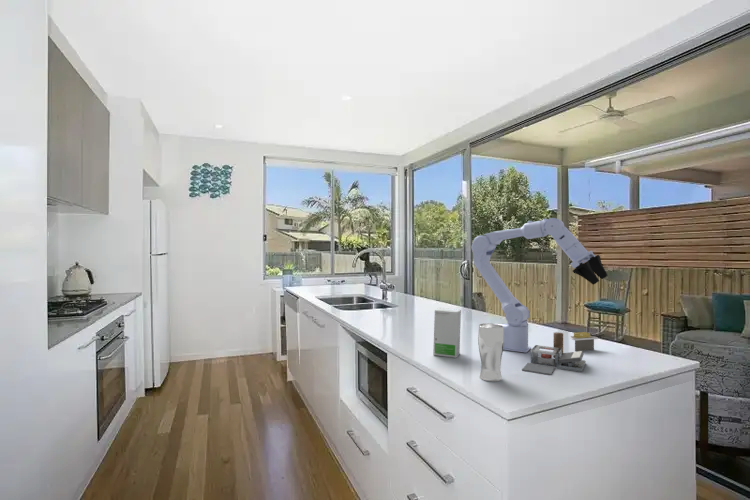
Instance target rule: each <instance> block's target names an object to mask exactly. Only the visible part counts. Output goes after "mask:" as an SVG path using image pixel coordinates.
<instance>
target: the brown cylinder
mask: <svg viewBox="0 0 750 500" xmlns="http://www.w3.org/2000/svg"><path fill="white" fill-rule="evenodd" d="M553 347H555V348H562V354H563V353H564V333H563V332H557V331H556V332H553ZM553 351H554V350H552V352H553ZM553 357H554V358H555V355H552V358H553Z"/></svg>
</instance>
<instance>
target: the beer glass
mask: <svg viewBox="0 0 750 500" xmlns="http://www.w3.org/2000/svg"><path fill="white" fill-rule="evenodd" d="M477 339H478V340H477V341H478V351H479V357H480V373H479V378H480V380H483V381H486V382H492V383H495V382H500V381H502V380H503V374H502V371H501V364H502V363H501V362H502V358H503V353H504V352H503V351H504V350H503V347H504V334H503V326H502V324H498V323H492V322H491V323H489V322H488V323H487V322H486V323H480V324H478V335H477Z"/></svg>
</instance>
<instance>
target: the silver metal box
mask: <svg viewBox="0 0 750 500" xmlns="http://www.w3.org/2000/svg"><path fill="white" fill-rule="evenodd" d="M553 350H554V351H553ZM539 354H540V355H541V354H549V355H552V356H553V355H555V357H554V358H553V357H552V358H550V359H546V358H542V357H541V356H539ZM561 355H562V348H555V347H554V346H547V345H546V346H545V345H537V344H535V345H534V346H533V347H531V349H530V363H533V364H540V365H547V366H554V367H556V369H559V370H564V371H565V370H567V371H573V372H579V373H583V372H584V370H585V369H584V368H585V367H586V360H583V359H582V360H581V361H578V362H567V363H560V362H559V359H560V357H561Z"/></svg>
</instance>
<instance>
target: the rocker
mask: <svg viewBox="0 0 750 500" xmlns="http://www.w3.org/2000/svg"><path fill="white" fill-rule="evenodd" d="M583 357H584V351H570V352H563V354H562V355H561V357H560V359H559V362H560V363H567V362H578V361H581V360H583Z"/></svg>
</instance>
